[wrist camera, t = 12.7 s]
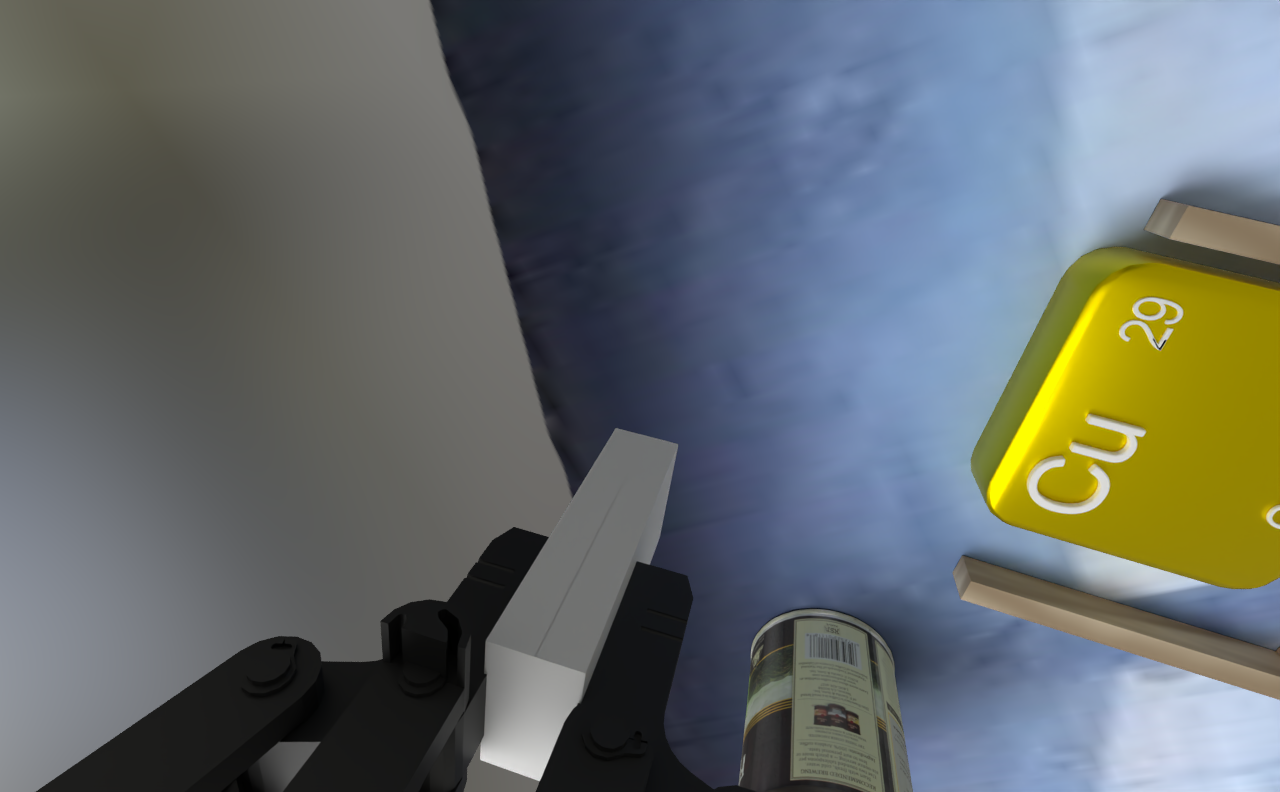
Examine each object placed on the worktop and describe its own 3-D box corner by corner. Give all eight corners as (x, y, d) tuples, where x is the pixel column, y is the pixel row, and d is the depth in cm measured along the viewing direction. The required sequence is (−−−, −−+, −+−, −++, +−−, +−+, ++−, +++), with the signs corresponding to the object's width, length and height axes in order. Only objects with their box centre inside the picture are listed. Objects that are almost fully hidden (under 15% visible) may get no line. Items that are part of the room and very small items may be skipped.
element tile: (1219, 552, 37) (1272, 609, 33) (956, 476, 39) (974, 521, 35) (1407, 311, 30) (1504, 344, 26) (1079, 235, 32) (1119, 254, 28)
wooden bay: (1160, 198, 30) (1188, 205, 28) (1643, 307, 28) (1716, 324, 25) (952, 572, 41) (960, 599, 39) (1286, 676, 38) (1315, 711, 36)
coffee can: (776, 719, 50) (765, 921, 38) (731, 618, 47) (703, 802, 35) (913, 706, 46) (951, 926, 34) (873, 596, 43) (898, 794, 31)
